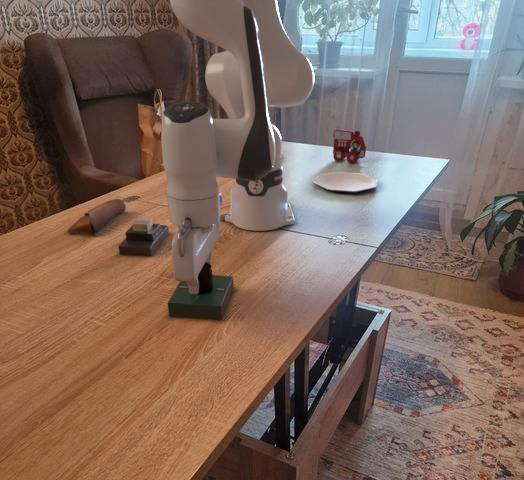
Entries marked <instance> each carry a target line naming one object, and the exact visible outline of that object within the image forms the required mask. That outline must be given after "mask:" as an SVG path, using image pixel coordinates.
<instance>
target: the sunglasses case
mask: <svg viewBox="0 0 524 480" xmlns="http://www.w3.org/2000/svg"><path fill="white" fill-rule="evenodd" d="M126 210H127V207H126V204H125V202H124V201H123V200H122V199H120V198H115V199H111V200H106V201H104V202H102V203H100V204H98V205H96V206H95V207H93V208H91V209H89V210H88V211H86V212H85V213H84V215H83V216H82V217H80V218H79V219H78V220H76V221H74V223H73V224H72V225H70V226H69V228H68V229H67V233H69V234H72V235H76V236H85V237H93V236H95V234H97V233H98V232H99V231H100V230H102V229H103V227H104V226H105V225H107V223H109V222H110V221H112V220H113V219H114V218H115V217H117V216H119V214H121V213H123V212H125V211H126Z"/></svg>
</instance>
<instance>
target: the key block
mask: <svg viewBox="0 0 524 480" xmlns="http://www.w3.org/2000/svg"><path fill="white" fill-rule="evenodd" d="M152 224H153V228H152V229H151V230H150V231H149V232H141V231H133V225H131V226H130V227H129V228H128V229H127V230H126V231H125V238H124V240H123V241H122V242H120V244H119V245H118V246H117V248H118V251H119V255H120V256H131V257H132V256H134V257H149V258H150V257H152V256H153V255H154V254H155V253H156V251H157V250H158V249H159V247H160V246H161V245H162V243H163V242H164V241H165V239H167V237H168V235H169V234H170V232H169V231H170V229H169V225H168V224H161V223H152Z"/></svg>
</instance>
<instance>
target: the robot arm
mask: <svg viewBox="0 0 524 480" xmlns="http://www.w3.org/2000/svg"><path fill="white" fill-rule="evenodd" d="M169 5H170V7H171V10H172V12H173V14H174V15H175V17H176V19H177V20H178V21H179V22H180V23H181V25H182V26H183V27H184V28H185V29H187V30H188V31H190V32H191V33H192V34H193V35H195V36H196V37H198V38H201V39H203V40H204V41H207V42H209V43H212V44H214V45H216V46H218V47H219V48H222V49H224V50H225V51H224V50H223V51H221V52H217V53H213V55H212V56H210V58H209V59H208V62H207V64H206V67H205V72H204V80H205V81H204V82H205V85H206V88H207V91H208V93H209V94H210V96H211V97H212V98H213V99H214V100H215V101H216V102H217V103H218V104H219V105H220V106H221V108H222V109H223V110H224V112H225V113H226V115H227V117H228V118H213V117H212V114H211V109H210V108H209V106H207V105H206V104H204V103H201V102H198V101H180V102H178V103H177V102H176V103H173V104H170V105H169V106H167V107H166V108H165V109H163V111H162V114H161V124H160V126H161V127H160V129H161V130H160V135H161V137H160V139H161V157H162V166H163V170H164V172H165V175H166V178H167V179H166V180H167V181H166V184H167V185H166V190H165V191H166V200H167V209H168V218H169V222H170V223H171V224H173V225H175V226H176V227H177V231H176V233H175V234H174V235H173V238H172V240H171V263H172V274H173V277H174V279H175V280H176V282H180V281H183V282H187V284H188V289H189V293H190V294H198V292H199V290H200V282H198V278H197V277H198V275H199V273H200V271H201V269H202V267H203V265H204V263H209V264H210V265H211V266H212V263H211V262H212V254H213V249H214V247H215V245H216V243H217V241H218V239H219V237H220V227H221V225H220V221H221V208H222V206H223V195H222V193H221V192H220V188H219V186H218V181H217V178H220V179H221V178H223V179H224V178H225V179H235V182H236V183H235V185H234V186H233V187H232V188H231V189H230V191H229V193H230V195H229V196H230V199H229V201H230V204H229V207H230V208H229V209H230V211H229V212H228V213H227V214H226V215H224V221H225V222H228V223H230V224H232V225H234V226H235V227H237V228H239V229H241V230H246V231H253V232H266V231H273V230H277V229H280V228H283V227H285V226H291V225H294V224H295V223H296V220H295V216H294V213H293V209H292V207H291V204H290V202H289V201H288V191H287V189H286V187H285V186H284V184H283V180H284V178H283V177H284V170H283V166H282V157H283V154H282V142H283V141H282V139H283V138H282V135H281V132H280V131H279V129H278V127H276V125H274V124H273V123H272V122H271V115H270V108H282V109H283V108H291V107H296V106H301V105H303V104H305V102H306V101H307V100H308V99H309V98H310V96H311V94H312V92H313V89H314V86H315V85H314V84H315V72H314V69H313V66H312V63H311V62H310V60H309V58H308V57H307V56H306V55H304V54H303V53H302V52H301V51H300V50H299V49H298V48H297V47H296V45H294V43H293V42H292V41H291V39H290V37H289V35H288V34H287V32H286V30H285V28H284V26H283V25H284V24H283V23H282V20H281V16H280V11H279V5H278V0H169Z"/></svg>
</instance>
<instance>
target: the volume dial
mask: <svg viewBox="0 0 524 480" xmlns="http://www.w3.org/2000/svg"><path fill="white" fill-rule="evenodd" d="M212 275H213V266H212V264H211V265H210V264H209V263H204V265H203V267H202V269H201V271H200V273H199V275H198V277H197V278H198V282H200V290H199V292H198V294H205V293H209V292H211V291H212V290H213V276H212Z"/></svg>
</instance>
